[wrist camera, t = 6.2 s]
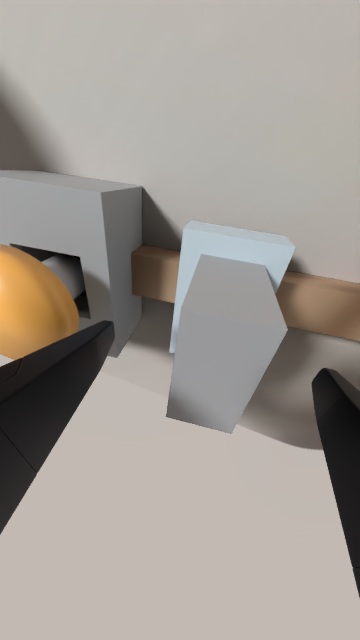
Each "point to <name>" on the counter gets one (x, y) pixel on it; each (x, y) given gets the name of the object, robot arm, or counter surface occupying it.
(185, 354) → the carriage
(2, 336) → the orange oval piece
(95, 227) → the grey rectangular block
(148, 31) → the counter surface
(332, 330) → the rail
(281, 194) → the counter surface
